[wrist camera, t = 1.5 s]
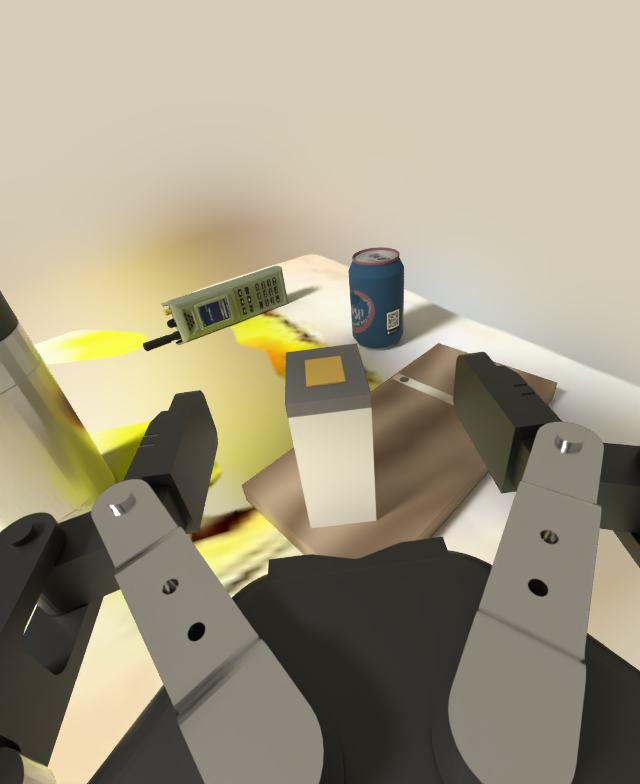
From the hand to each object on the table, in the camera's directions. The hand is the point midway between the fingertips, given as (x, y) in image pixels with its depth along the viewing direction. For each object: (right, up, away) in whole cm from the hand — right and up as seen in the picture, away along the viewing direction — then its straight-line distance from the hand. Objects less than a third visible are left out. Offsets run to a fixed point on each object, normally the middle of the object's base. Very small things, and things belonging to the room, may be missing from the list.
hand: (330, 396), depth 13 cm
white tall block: (+1, -8, +20) cm, 21 cm away
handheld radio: (-17, +11, +53) cm, 57 cm away
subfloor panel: (+9, -5, +26) cm, 28 cm away
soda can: (+8, +7, +43) cm, 45 cm away
